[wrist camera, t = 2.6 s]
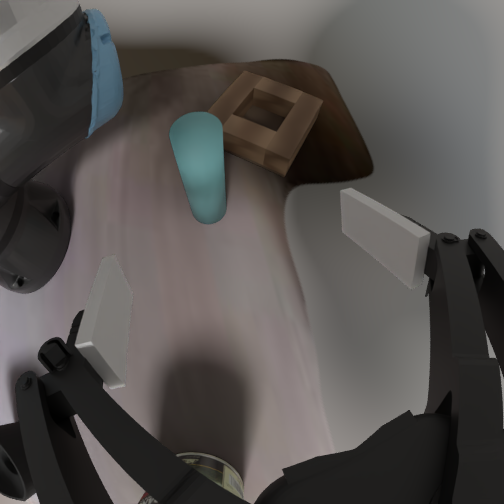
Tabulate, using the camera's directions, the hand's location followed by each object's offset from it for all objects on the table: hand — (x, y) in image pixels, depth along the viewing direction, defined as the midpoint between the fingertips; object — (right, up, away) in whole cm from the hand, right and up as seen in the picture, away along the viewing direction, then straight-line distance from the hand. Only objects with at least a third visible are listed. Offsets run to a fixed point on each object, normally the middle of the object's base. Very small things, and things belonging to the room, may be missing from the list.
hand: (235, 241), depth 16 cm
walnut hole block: (+2, +16, +21) cm, 27 cm away
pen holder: (-28, -27, +7) cm, 39 cm away
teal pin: (-4, +5, +18) cm, 19 cm away
